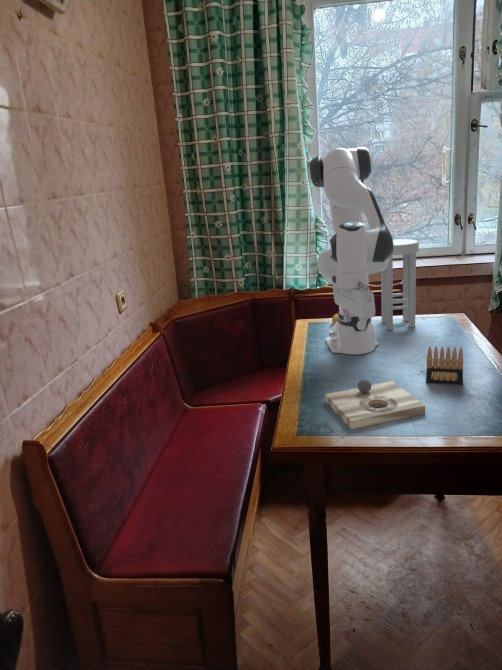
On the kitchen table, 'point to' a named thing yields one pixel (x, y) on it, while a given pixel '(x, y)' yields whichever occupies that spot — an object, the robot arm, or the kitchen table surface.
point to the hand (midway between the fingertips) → (354, 325)
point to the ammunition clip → (445, 367)
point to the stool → (409, 283)
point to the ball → (364, 385)
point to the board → (374, 405)
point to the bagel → (335, 319)
